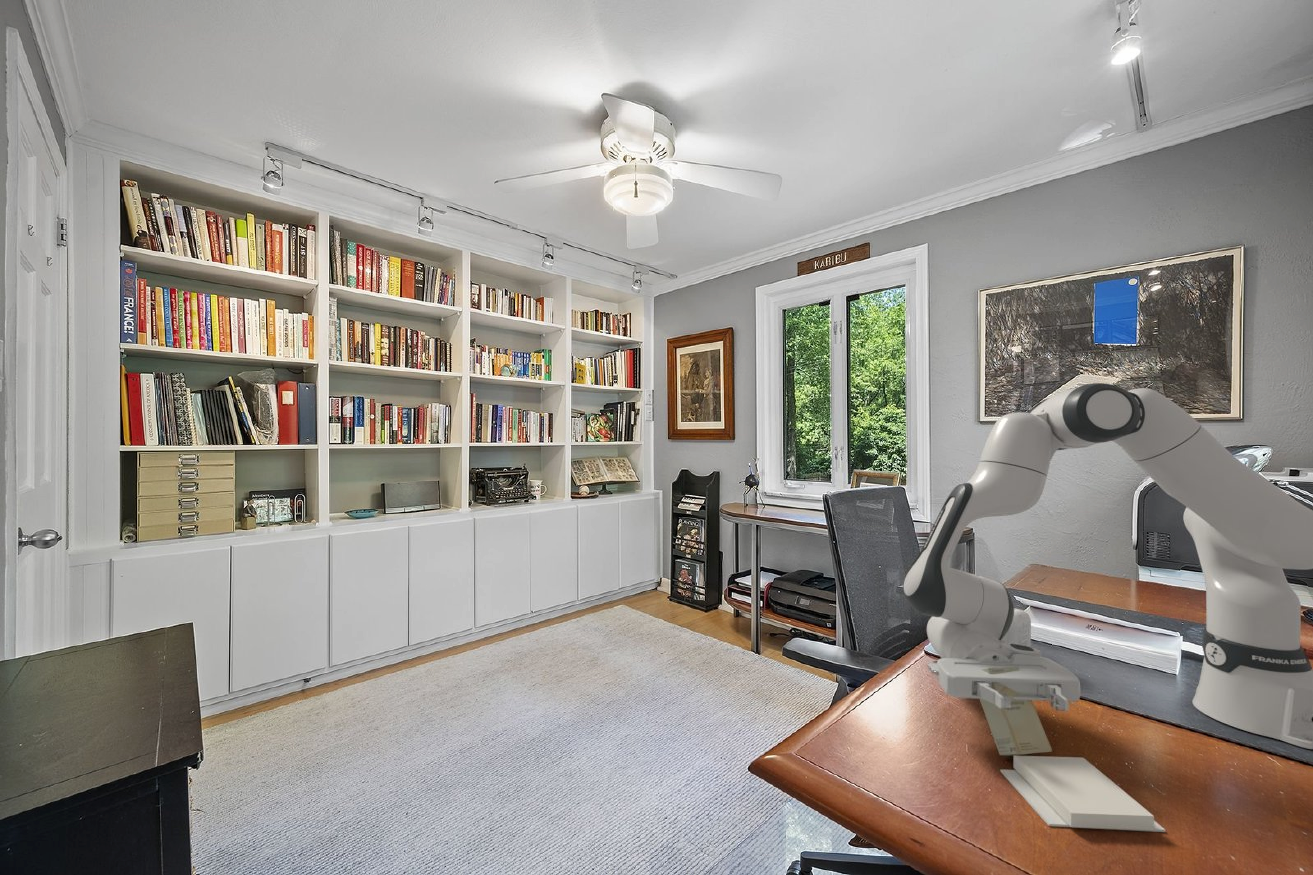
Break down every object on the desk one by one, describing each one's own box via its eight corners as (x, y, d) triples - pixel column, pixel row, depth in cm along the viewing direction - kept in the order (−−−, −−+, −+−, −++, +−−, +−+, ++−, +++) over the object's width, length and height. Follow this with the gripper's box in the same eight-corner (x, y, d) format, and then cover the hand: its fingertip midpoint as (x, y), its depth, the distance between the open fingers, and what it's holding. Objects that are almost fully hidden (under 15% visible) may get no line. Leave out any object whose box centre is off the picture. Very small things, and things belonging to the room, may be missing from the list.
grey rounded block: (1011, 658, 119) (1012, 602, 119) (1033, 665, 115) (1034, 608, 115) (988, 669, 113) (989, 611, 113) (1011, 677, 110) (1011, 617, 110)
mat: (1100, 775, 79) (1100, 773, 79) (1165, 832, 68) (1165, 829, 68) (1000, 771, 80) (1000, 769, 80) (1048, 826, 69) (1048, 823, 69)
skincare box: (1020, 755, 79) (987, 667, 86) (998, 756, 83) (967, 672, 89) (1054, 751, 81) (1019, 665, 87) (1031, 752, 85) (998, 669, 91)
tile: (1083, 757, 79) (1154, 816, 67) (1083, 770, 79) (1153, 831, 67) (1013, 755, 80) (1071, 813, 68) (1013, 768, 80) (1071, 828, 68)
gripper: (923, 644, 94) (962, 681, 80) (1045, 647, 92) (1106, 686, 79) (923, 680, 94) (961, 723, 80) (1045, 684, 92) (1106, 728, 79)
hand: (1034, 705), depth 79 cm, fingers open, 7 cm apart
